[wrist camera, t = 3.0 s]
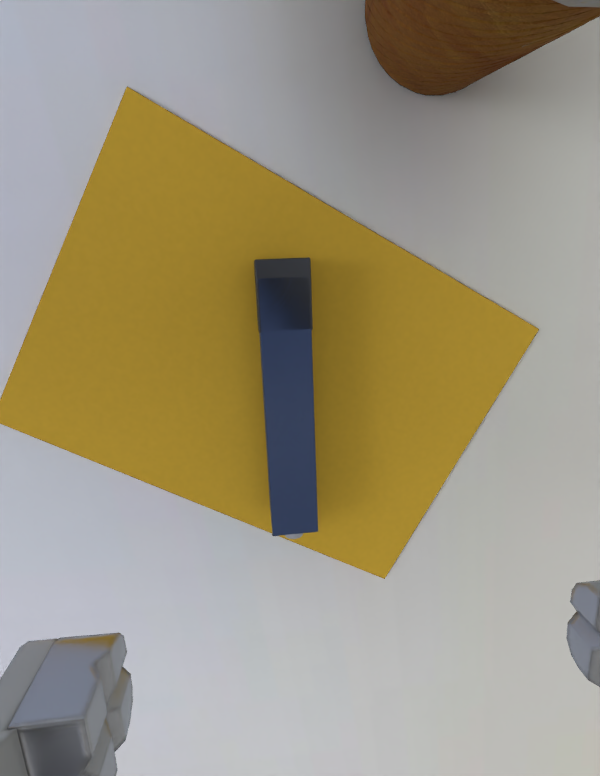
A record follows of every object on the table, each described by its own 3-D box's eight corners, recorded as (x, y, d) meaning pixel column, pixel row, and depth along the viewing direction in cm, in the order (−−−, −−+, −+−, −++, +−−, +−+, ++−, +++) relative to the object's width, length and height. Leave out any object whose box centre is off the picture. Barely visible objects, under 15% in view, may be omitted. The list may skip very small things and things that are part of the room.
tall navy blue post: (312, 518, 25) (319, 546, 22) (270, 522, 24) (272, 551, 22) (303, 258, 21) (310, 257, 19) (253, 260, 21) (254, 259, 18)
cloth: (-6, 418, 22) (-9, 420, 21) (128, 88, 19) (126, 86, 19) (383, 576, 26) (384, 578, 26) (536, 328, 24) (539, 329, 23)
